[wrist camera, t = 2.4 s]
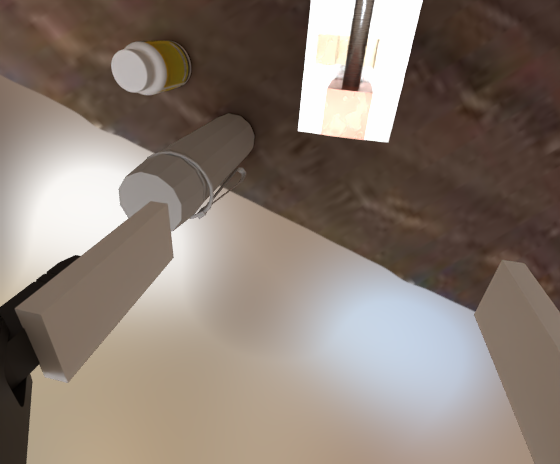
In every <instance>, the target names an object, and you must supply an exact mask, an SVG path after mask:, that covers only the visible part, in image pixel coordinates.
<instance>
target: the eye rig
mask: <svg viewBox="0 0 560 464" xmlns="http://www.w3.org/2000/svg"><path fill="white" fill-rule="evenodd" d="M355 1H356V0H311V5H310V15H309V25H308V35H307V45H306V55H305V65H304V75H303V85H302V95H301V105H300V115H299V125H298V131H301V132H309V133H317V134H321V127H322V120H323V112H324V105H325V97H326V90H327V87H328V86H329V84H330V82H331V81H332V79H336V80H343V78H344V71H345V65H346V59H347V52H348V46H349V39H350V33H351V27H352V20H353V14H354V7H355ZM422 1H423V0H375V2H374V8H373V14H372V19H371V25H370V30H369V36H368V41H367V47H366V52H365V58H364V63H363V69H362V74H361V80H360V82H365V83H371V85H372V89H373V98H372V103H371V108H370V113H369V118H368V123H367V127H366V132H365V137H364V140H372V141H380V142H389V138H390V134H391V130H392V125H393V121H394V117H395V113H396V109H397V105H398V100H399V96H400V92H401V88H402V84H403V80H404V76H405V71H406V67H407V63H408V59H409V55H410V51H411V47H412V42H413V38H414V34H415V30H416V26H417V22H418V17H419V13H420V9H421V5H422Z"/></svg>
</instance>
